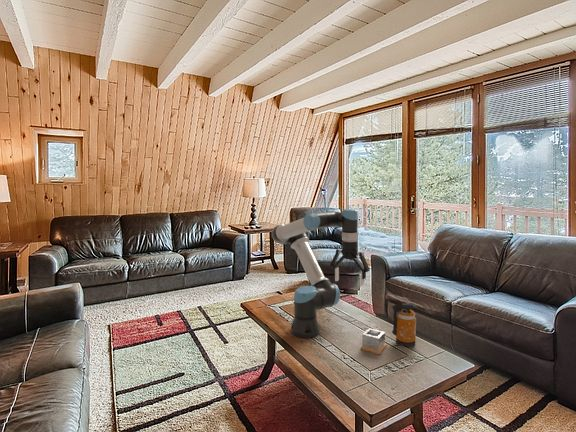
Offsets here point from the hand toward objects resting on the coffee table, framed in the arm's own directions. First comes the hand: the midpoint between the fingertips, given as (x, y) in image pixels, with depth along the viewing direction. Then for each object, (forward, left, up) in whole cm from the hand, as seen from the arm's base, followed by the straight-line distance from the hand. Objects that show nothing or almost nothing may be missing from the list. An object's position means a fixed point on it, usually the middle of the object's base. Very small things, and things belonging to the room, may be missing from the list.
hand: (349, 283), depth 170 cm
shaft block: (+14, -2, -29) cm, 32 cm away
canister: (+24, +11, -29) cm, 39 cm away
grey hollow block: (+14, -2, -28) cm, 31 cm away
